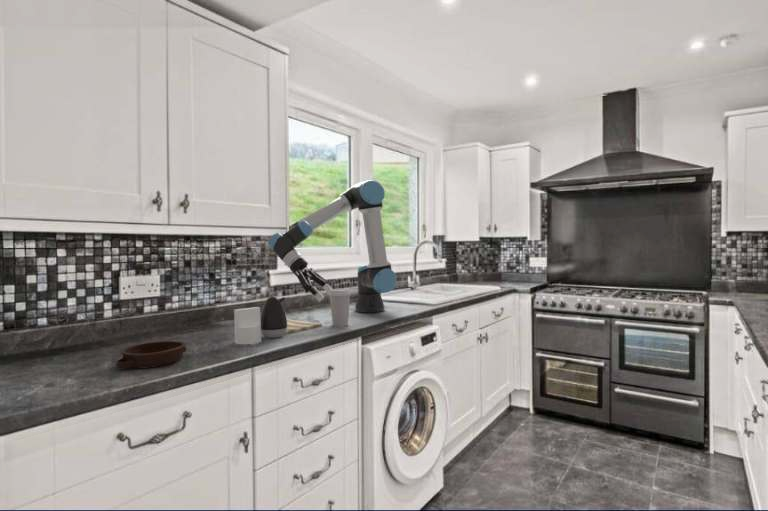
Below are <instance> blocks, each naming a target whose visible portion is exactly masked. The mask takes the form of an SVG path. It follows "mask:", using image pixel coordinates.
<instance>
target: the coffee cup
mask: <svg viewBox="0 0 768 511" xmlns="http://www.w3.org/2000/svg"><path fill="white" fill-rule="evenodd" d="M351 295H352V293H351V290H350V289H349V288H332V290H330V292H329V294H328V296H329V301H330V302H329V303H330V310H331V321H332V326H334V327H345V326H348V325H349V313H350V298H351Z"/></svg>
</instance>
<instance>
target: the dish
mask: <svg viewBox="0 0 768 511" xmlns="http://www.w3.org/2000/svg"><path fill="white" fill-rule="evenodd" d="M187 344H188V343H186V342H183V341H178V340H175V341H174V340H173V341H172V340H169V341H166V340H165V341H164V340H162V341H161V340H160V341H151V342H150V341H149V342H144V343H139V344H134V345H130V346H127V347H125V348H122V349H121V350H120V351H119V353H120V354H121V355H122V357H121V358H120V359H118V360H117V361H116V362H115V367H116V368H117V369H128V368H132V367H136V368H135V369H140V368H139V367H152V368H154V367H153V366H159V367H161V366H160V365H164V366H166V365H165V364H168V365H170V364H169V363H171V364H174V363H176V362H178V361H180V359H181V358H182V356H183V354H184V353H185V352H187V349H188V348H187ZM173 362H174V363H173Z"/></svg>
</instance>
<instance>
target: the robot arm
mask: <svg viewBox="0 0 768 511" xmlns="http://www.w3.org/2000/svg"><path fill="white" fill-rule="evenodd" d="M385 193H386V192H385V188H384V186H383V185H382V184H381V183H380V182H379V181H377V180H374V179H369V180H368V179H367V180H363V181H361V182H359V183H356V184H354V185H352V186H351V187H349V188H348V189H346V190H345V191H344V192H343V193H341V194H339V196H338V198H336V199H334V200H333V201H331V202H330V203H328V204H325V205H324V206H322V207H320V208H318V209H317V210H315V211H313V212H312V213H310V214H308V215H306V216H304V217H303V218H301V219H299V220H298V221H296V222H294V223H293V224H290V225H289V231H288V232H286V233H285V234H283V235H282V233H281V232H275V233H274V234H272V235H271V236H270V237H269V239H268V240H267V246H268V247H269V248H270V249H271V251H272V252H273V253H274V254H276V256H277V257H279V259H280V260H281V261H282V262H283V263H284V266H286V267H287V268H288V269H289V270H290V271H291V272H292V273H293V274H294V275H295V277H297V280H298V282H299V283H300V284H301V286H302V288H303V289H304V291H305V292H307V293H308V292H309V293H311V295H312V296H313V297H314V298H315V299H316V300H317V301H318V302H319V303H320V302H322V301H323V300H324V299H325V296H324V295H323V294H322V293H321V292H320V291H319V290H318V289H317V288H316V287H315V286H314V285H313V284H312V282H311V281H313V282H314V283H316V284H318V285H320V286H321V287H322V289H323V290H324V291H325V292H326V293H327V294H328V295H329V292H330V290H332V289H333V288H332V287H331V286H330V285H329V284H328V283H329V280H328V279H326V278H324V277H323V276H322V275H320V274H319V273H318V272H317V271H315V270H314V268H312V267H310V268H309V267H308V265H309V264H308V261H307V260H306V259H305V258H304V257H302V255H301V253H300V252H298V251H297V250H296V249H295V248H296V247H297V246H299V245H300V244H301V243H302V242H304V241H305V240H306V239H308V238H309V237H310V236H311V235H313V233H314V231H315V230H317V229H319V228H320V227H322V226H324V225H325V224H327V223H329V222H331V221H332V220H334V219H336V218H337V217H339V216H341V215H343V214H344V213H346V212H348V213H349V212H351V211H353V210H355V209H358V211H359V212H360V213H361V214H362V220H363V226H364V227H363V228H364V233H365V240H366V241H365V242H366V247H367V255H368V261H369V263H368V264H367V265H361V266H359V267H358V268H357V274H356V275H357V290H358V292H357V294H358V295H357V298H356V302H355V306H354V311H355V312H356V313H357V312H358V313H379V312H384V311H385V304H384V301H383V298H382V294H386V293H390V292H391V291H393V290H394V288H395V287H396V285H397V278H398V277H397V274H396V272H394V271H393V270H392V269H393V268H392V263H391V262H390V261H389V260H388V258H387V252H386V251H387V249H386V243H385V235H384V230H383V229H384V228H383V223H382V222H383V221H382V216H381V210H382V209H383V208H384V207H383V200H384V198H385V196H386V194H385Z"/></svg>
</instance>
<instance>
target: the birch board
mask: <svg viewBox="0 0 768 511" xmlns="http://www.w3.org/2000/svg"><path fill="white" fill-rule="evenodd" d="M322 326H323V323H321V322H313V321H312V322H311V321H303V320H296V319H287V328H286V332H285V334H284V335H289V334H292V333H298V332H302V331H306V330H310V329H315V328H318V327H319V328H320V327H322Z"/></svg>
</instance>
